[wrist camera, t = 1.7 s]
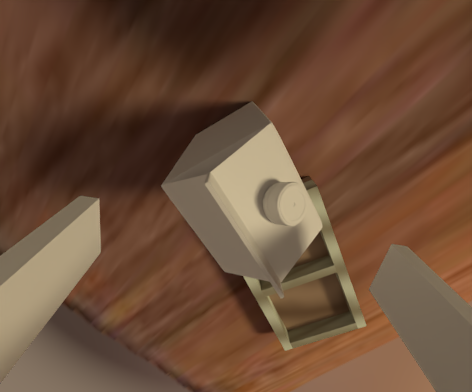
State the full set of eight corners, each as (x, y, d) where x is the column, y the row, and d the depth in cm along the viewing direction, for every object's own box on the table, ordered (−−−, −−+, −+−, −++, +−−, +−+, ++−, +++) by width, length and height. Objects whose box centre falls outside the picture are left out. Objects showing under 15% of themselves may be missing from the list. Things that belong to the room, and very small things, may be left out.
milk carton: (228, 187, 31) (221, 324, 14) (195, 134, 28) (135, 221, 11) (282, 158, 30) (351, 269, 12) (252, 100, 27) (287, 137, 10)
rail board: (216, 214, 32) (215, 227, 29) (309, 175, 30) (317, 186, 28) (281, 331, 41) (285, 350, 38) (356, 307, 39) (366, 325, 36)
